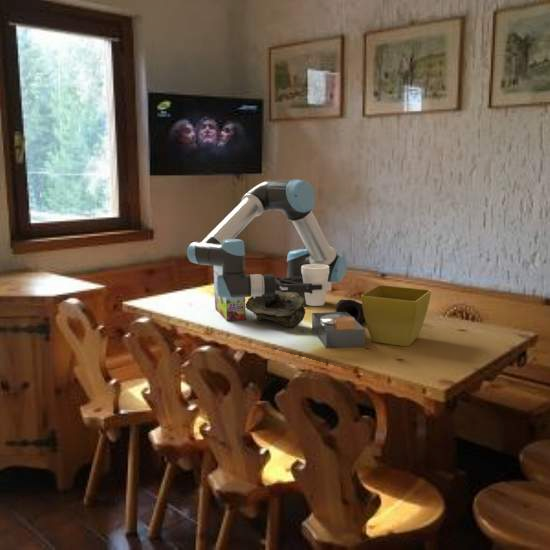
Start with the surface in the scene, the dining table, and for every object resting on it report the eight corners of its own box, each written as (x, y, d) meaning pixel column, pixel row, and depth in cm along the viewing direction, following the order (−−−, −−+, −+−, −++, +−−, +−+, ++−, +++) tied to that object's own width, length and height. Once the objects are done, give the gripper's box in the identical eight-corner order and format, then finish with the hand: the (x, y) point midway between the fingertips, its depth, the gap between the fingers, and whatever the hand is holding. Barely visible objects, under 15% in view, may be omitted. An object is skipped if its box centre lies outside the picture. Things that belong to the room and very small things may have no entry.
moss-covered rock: (302, 343, 224) (325, 310, 228) (283, 324, 217) (306, 290, 221) (258, 325, 246) (279, 295, 250) (239, 307, 239) (261, 276, 243)
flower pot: (414, 351, 199) (416, 301, 196) (358, 343, 208) (359, 294, 205) (429, 336, 215) (431, 289, 212) (378, 329, 224) (379, 284, 221)
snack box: (213, 309, 257) (211, 248, 252) (233, 307, 259) (232, 246, 255) (225, 321, 237) (223, 255, 232) (247, 319, 239) (246, 254, 234)
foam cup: (296, 304, 209) (296, 267, 207) (310, 299, 217) (310, 263, 215) (320, 308, 204) (320, 269, 202) (333, 302, 212) (334, 265, 209)
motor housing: (312, 328, 226) (312, 305, 224) (346, 327, 227) (346, 303, 226) (326, 348, 202) (326, 322, 201) (364, 346, 204) (365, 320, 202)
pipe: (344, 295, 247) (328, 295, 235) (379, 301, 240) (364, 302, 227) (341, 318, 248) (324, 320, 235) (375, 326, 240) (360, 328, 228)
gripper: (259, 289, 219) (321, 287, 221) (266, 303, 197) (335, 301, 200) (259, 268, 217) (321, 266, 220) (266, 280, 196) (335, 278, 198)
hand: (328, 283), depth 210 cm, fingers closed on foam cup, 9 cm apart
